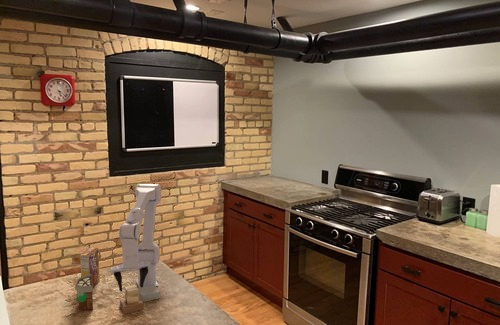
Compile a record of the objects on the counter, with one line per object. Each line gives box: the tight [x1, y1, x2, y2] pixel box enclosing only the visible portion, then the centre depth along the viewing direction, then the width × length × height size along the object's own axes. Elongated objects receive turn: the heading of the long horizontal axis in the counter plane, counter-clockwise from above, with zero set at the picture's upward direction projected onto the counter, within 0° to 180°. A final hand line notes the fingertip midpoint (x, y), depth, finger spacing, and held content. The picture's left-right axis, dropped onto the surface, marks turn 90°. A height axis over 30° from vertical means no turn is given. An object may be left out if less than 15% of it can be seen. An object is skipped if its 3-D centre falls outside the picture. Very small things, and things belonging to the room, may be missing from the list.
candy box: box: [79, 247, 101, 289], centre depth 162 cm, size 9×4×15 cm, turn 177°
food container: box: [74, 274, 94, 312], centre depth 144 cm, size 12×6×10 cm, turn 23°
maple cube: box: [124, 284, 139, 304], centre depth 144 cm, size 4×4×5 cm
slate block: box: [137, 285, 161, 303], centre depth 153 cm, size 7×7×3 cm
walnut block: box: [119, 295, 144, 314], centre depth 144 cm, size 7×7×3 cm
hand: (131, 288), depth 144 cm, fingers open, 7 cm apart
